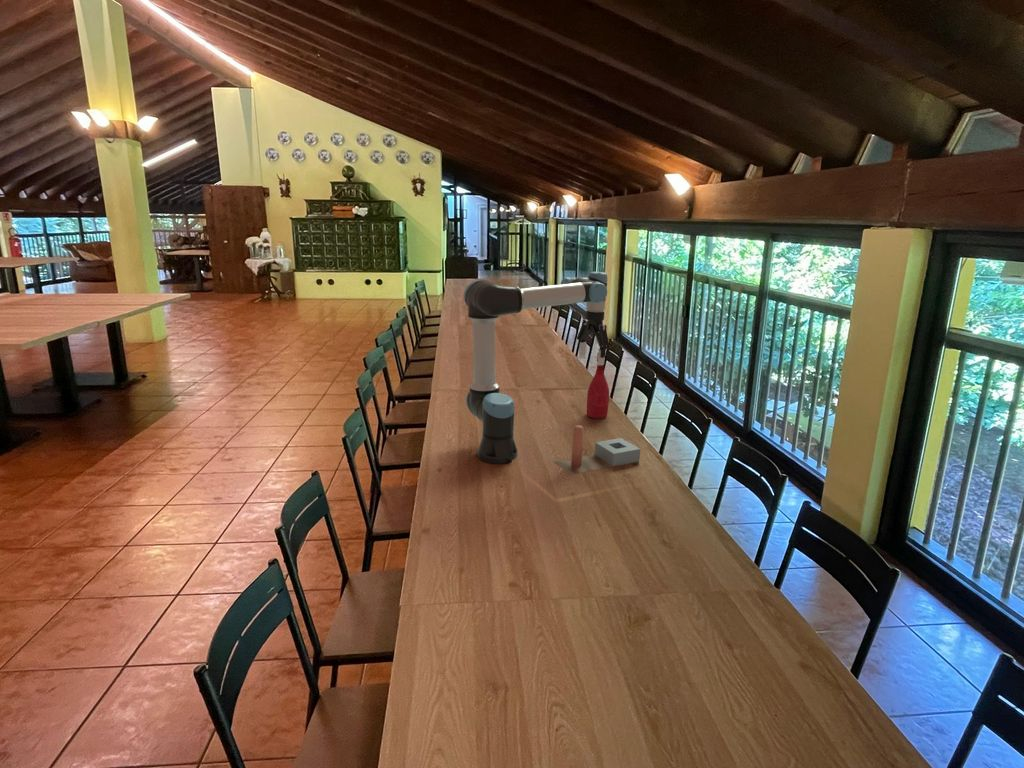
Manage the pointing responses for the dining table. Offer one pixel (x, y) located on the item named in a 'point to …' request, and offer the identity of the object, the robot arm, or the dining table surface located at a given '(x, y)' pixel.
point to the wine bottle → (598, 395)
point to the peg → (577, 446)
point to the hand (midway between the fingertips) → (591, 361)
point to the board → (585, 464)
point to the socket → (617, 451)
